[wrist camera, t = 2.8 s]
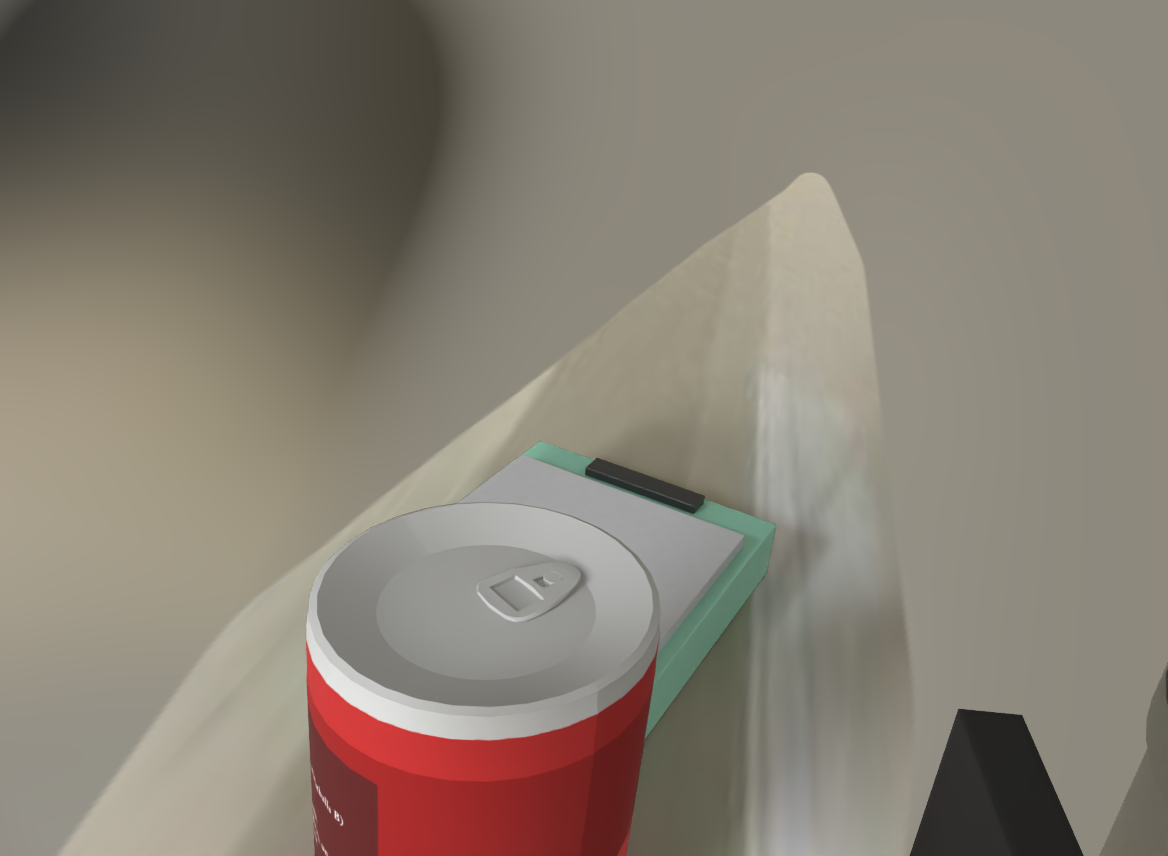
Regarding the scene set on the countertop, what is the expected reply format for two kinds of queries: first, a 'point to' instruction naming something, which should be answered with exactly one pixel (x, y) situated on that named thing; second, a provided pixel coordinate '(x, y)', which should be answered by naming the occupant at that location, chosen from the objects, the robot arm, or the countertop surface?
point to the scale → (652, 546)
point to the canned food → (479, 686)
